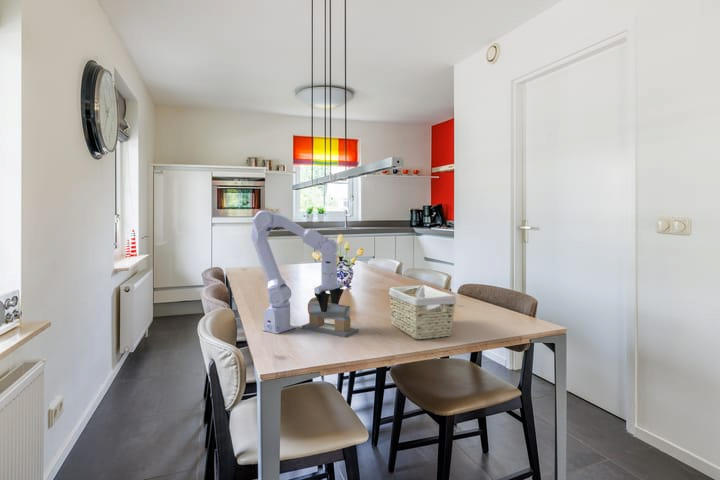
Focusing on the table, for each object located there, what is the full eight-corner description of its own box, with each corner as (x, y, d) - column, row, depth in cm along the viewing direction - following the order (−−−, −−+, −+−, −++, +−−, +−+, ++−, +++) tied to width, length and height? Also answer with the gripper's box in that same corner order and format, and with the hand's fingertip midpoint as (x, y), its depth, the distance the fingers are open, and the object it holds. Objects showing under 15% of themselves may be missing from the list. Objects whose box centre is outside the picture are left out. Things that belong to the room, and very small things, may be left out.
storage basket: (387, 323, 154) (387, 286, 153) (424, 320, 159) (425, 284, 158) (414, 342, 132) (414, 298, 131) (457, 337, 137) (457, 295, 136)
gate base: (345, 337, 136) (345, 323, 136) (301, 328, 148) (301, 314, 147) (358, 331, 143) (358, 318, 143) (315, 323, 154) (315, 310, 154)
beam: (344, 320, 139) (344, 308, 139) (309, 314, 148) (309, 302, 148) (349, 318, 142) (349, 306, 142) (315, 312, 151) (315, 300, 151)
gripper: (325, 276, 136) (325, 315, 137) (349, 271, 148) (349, 307, 149) (309, 274, 140) (310, 312, 141) (334, 270, 152) (334, 305, 153)
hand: (329, 310), depth 145 cm, fingers open, 6 cm apart
